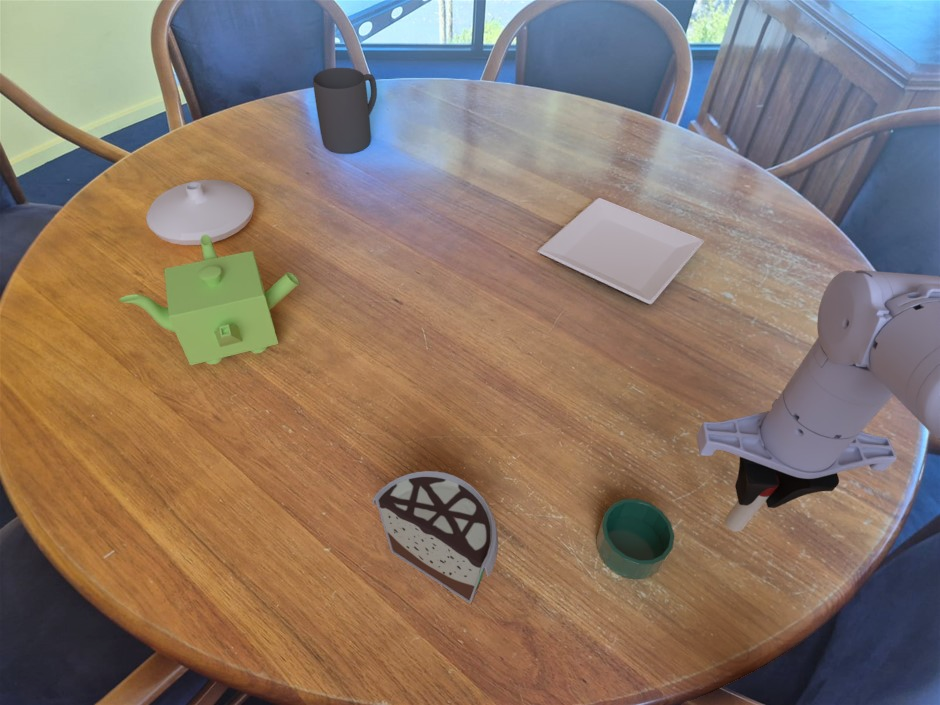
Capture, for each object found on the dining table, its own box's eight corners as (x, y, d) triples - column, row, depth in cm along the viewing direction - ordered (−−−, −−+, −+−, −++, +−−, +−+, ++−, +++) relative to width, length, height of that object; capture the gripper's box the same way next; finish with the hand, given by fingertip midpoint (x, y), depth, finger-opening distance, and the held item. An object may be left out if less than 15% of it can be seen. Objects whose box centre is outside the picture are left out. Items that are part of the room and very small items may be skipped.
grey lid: (136, 221, 98) (119, 181, 92) (230, 187, 105) (219, 148, 100) (178, 270, 90) (162, 230, 84) (276, 230, 97) (267, 190, 92)
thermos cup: (678, 562, 61) (688, 546, 59) (621, 591, 59) (629, 575, 57) (638, 506, 65) (646, 489, 63) (583, 530, 63) (589, 514, 61)
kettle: (147, 358, 78) (112, 291, 70) (218, 290, 87) (194, 223, 79) (248, 394, 74) (224, 327, 66) (311, 319, 84) (296, 252, 75)
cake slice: (516, 559, 61) (526, 509, 54) (484, 613, 57) (489, 566, 50) (415, 498, 65) (411, 444, 58) (379, 544, 62) (369, 492, 54)
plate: (535, 261, 93) (536, 250, 92) (596, 206, 104) (598, 195, 102) (647, 314, 86) (651, 303, 84) (701, 250, 96) (705, 239, 95)
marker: (748, 527, 59) (784, 483, 53) (732, 535, 59) (767, 491, 52) (735, 511, 60) (768, 466, 54) (719, 518, 60) (751, 473, 53)
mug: (348, 160, 112) (340, 94, 103) (312, 144, 115) (300, 79, 106) (396, 131, 120) (392, 67, 111) (361, 117, 123) (354, 55, 114)
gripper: (905, 372, 47) (824, 464, 58) (714, 357, 48) (667, 451, 58) (943, 450, 43) (848, 536, 53) (731, 432, 43) (677, 520, 54)
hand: (755, 496), depth 55 cm, fingers closed on marker, 2 cm apart
